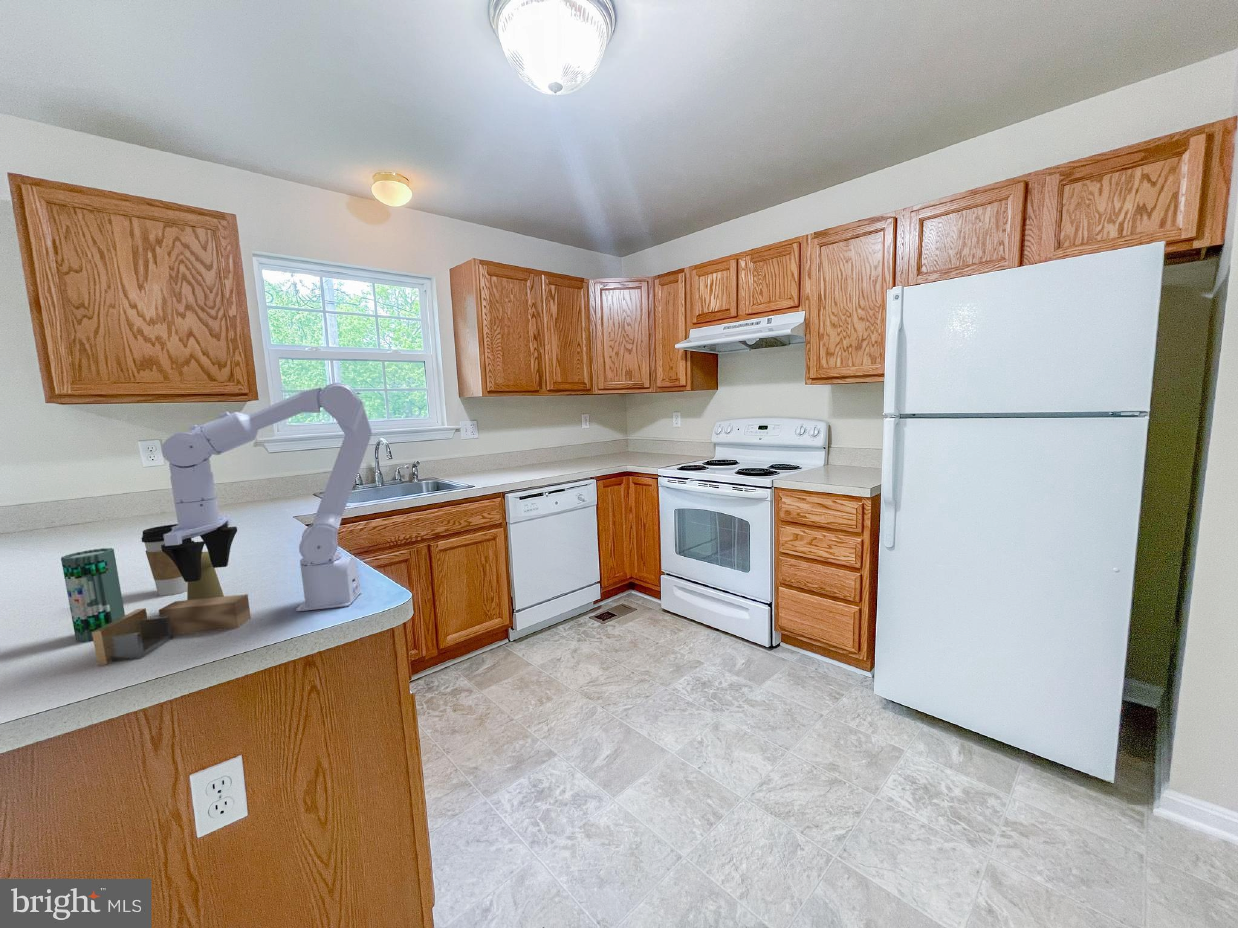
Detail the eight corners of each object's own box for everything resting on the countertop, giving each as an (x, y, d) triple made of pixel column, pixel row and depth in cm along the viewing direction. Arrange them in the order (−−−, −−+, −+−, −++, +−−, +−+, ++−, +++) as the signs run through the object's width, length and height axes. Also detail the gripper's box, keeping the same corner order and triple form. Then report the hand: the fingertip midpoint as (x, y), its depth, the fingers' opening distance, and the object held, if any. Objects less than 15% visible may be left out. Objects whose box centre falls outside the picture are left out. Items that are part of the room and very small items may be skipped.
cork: (203, 611, 96) (194, 557, 95) (179, 610, 98) (170, 557, 96) (232, 599, 102) (225, 548, 101) (209, 598, 103) (202, 548, 102)
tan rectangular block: (251, 619, 92) (247, 594, 91) (238, 628, 88) (234, 602, 87) (179, 627, 90) (175, 601, 89) (162, 636, 86) (158, 609, 85)
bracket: (176, 635, 86) (171, 605, 85) (136, 660, 77) (130, 627, 76) (142, 639, 85) (137, 608, 84) (97, 665, 76) (91, 632, 76)
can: (66, 641, 85) (51, 558, 84) (104, 626, 91) (91, 548, 90) (99, 641, 85) (84, 557, 83) (135, 625, 91) (122, 547, 89)
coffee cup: (177, 597, 105) (167, 529, 103) (139, 598, 105) (128, 531, 104) (210, 583, 114) (201, 520, 112) (175, 584, 114) (165, 521, 112)
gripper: (198, 494, 93) (208, 563, 95) (137, 510, 79) (151, 590, 81) (239, 492, 94) (248, 559, 96) (186, 506, 80) (199, 585, 82)
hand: (207, 573), depth 88 cm, fingers open, 7 cm apart
